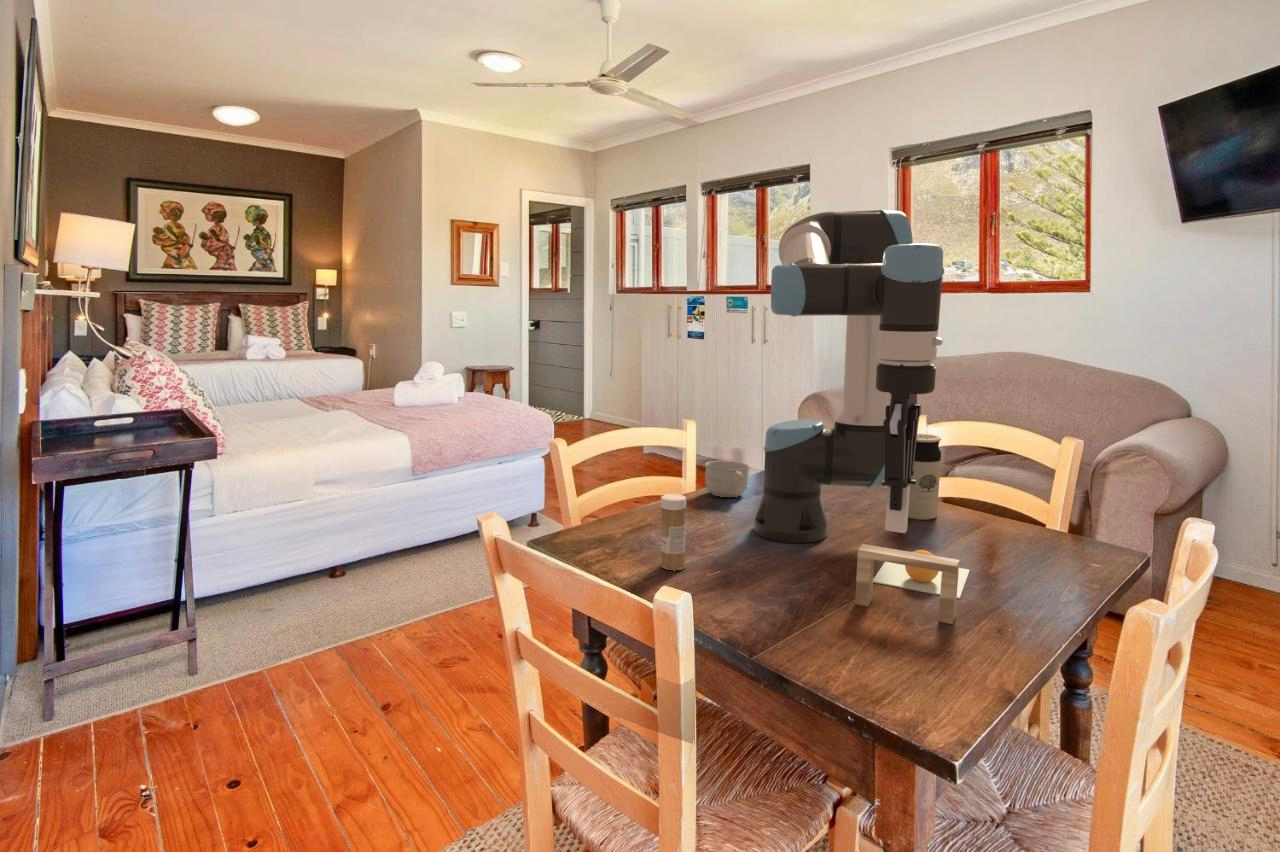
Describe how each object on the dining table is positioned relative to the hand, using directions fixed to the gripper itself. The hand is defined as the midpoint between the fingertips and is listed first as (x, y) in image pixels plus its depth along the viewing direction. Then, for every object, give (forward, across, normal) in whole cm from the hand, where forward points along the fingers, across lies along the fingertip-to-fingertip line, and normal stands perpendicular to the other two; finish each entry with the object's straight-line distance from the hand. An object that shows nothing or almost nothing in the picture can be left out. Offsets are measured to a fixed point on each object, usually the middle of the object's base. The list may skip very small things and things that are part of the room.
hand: (895, 530), depth 102 cm
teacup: (+17, +57, +50) cm, 78 cm away
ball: (+14, +25, 0) cm, 28 cm away
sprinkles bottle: (+17, +9, +40) cm, 44 cm away
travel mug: (+17, +64, +7) cm, 66 cm away
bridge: (+16, +11, 0) cm, 20 cm away
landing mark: (+16, +27, 0) cm, 32 cm away
